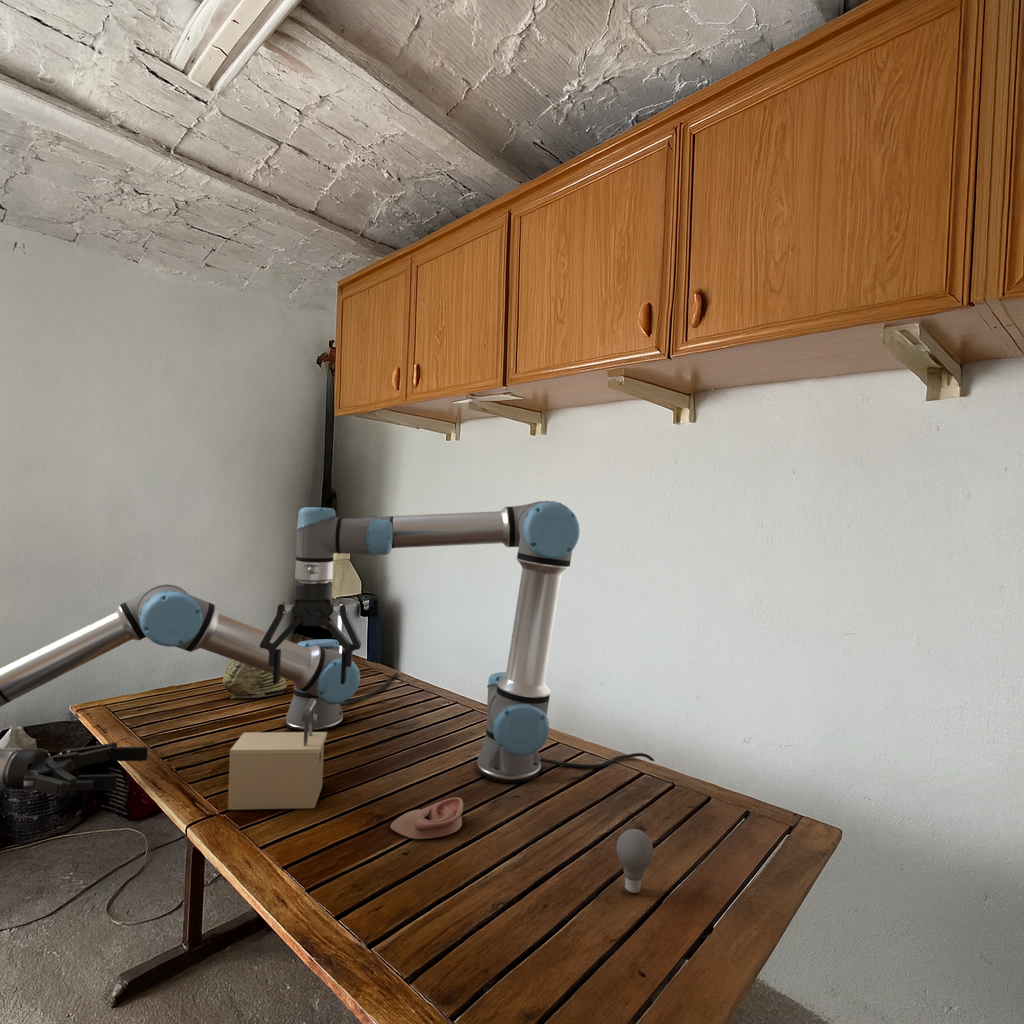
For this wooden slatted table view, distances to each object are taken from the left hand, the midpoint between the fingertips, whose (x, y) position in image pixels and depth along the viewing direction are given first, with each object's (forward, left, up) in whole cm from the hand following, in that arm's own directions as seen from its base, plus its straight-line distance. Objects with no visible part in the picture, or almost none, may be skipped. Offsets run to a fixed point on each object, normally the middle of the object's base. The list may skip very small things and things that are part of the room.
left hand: (132, 767), depth 128 cm
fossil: (-52, -46, -7) cm, 70 cm away
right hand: (-25, +24, +18) cm, 39 cm away
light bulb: (-43, +91, -7) cm, 101 cm away
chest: (-21, +20, -7) cm, 29 cm away
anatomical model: (-34, +51, -7) cm, 61 cm away
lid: (-21, +20, +4) cm, 29 cm away
